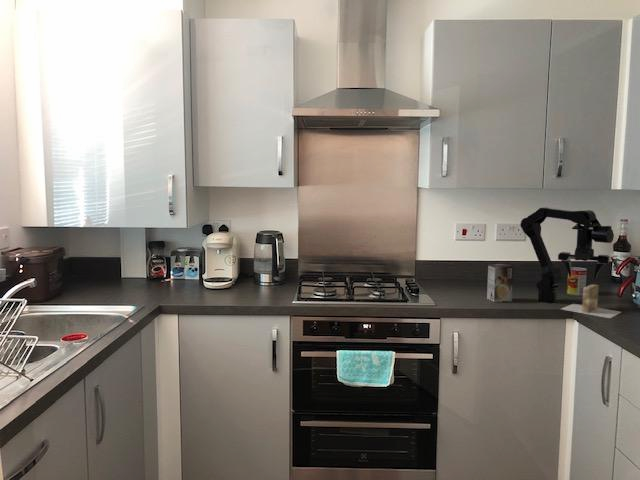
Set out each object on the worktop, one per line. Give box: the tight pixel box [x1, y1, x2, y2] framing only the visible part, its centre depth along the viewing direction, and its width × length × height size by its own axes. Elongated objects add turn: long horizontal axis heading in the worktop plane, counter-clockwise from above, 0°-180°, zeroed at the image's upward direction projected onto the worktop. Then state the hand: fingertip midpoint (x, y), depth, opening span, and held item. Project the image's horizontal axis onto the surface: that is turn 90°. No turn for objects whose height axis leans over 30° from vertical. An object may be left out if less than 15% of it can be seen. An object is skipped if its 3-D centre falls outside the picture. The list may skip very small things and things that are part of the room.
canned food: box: [566, 266, 588, 296], centre depth 249 cm, size 8×8×12 cm
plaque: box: [581, 283, 600, 313], centre depth 216 cm, size 3×10×10 cm, turn 133°
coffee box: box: [486, 263, 514, 303], centre depth 234 cm, size 9×6×16 cm
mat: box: [561, 303, 622, 319], centre depth 216 cm, size 19×14×1 cm
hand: (582, 278), depth 218 cm, fingers open, 9 cm apart
